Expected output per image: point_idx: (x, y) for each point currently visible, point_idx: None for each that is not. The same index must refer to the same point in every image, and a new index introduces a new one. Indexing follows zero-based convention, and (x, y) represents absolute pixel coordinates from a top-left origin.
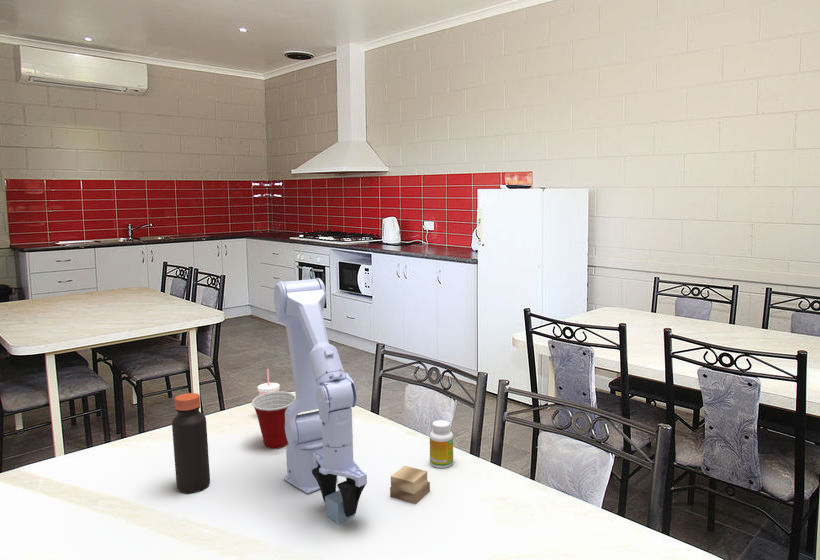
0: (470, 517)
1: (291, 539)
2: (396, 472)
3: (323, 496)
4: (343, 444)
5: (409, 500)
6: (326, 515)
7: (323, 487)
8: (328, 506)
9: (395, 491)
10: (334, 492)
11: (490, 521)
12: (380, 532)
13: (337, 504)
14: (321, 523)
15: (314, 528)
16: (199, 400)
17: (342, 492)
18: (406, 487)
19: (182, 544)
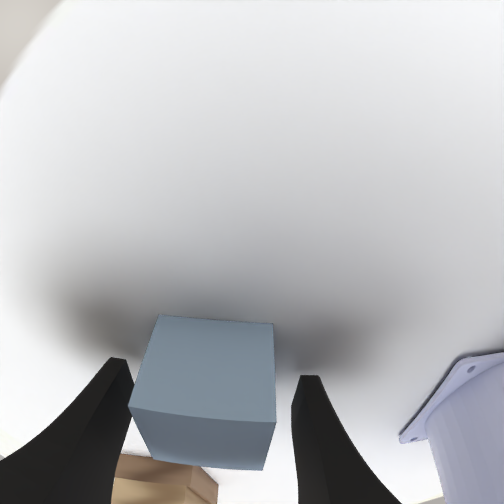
0: (28, 437)
1: (215, 22)
2: None
3: (319, 409)
4: None
5: (133, 460)
6: (265, 324)
7: (321, 466)
8: (240, 372)
9: (172, 477)
10: (264, 453)
11: (10, 433)
12: (24, 345)
13: (131, 402)
14: (222, 264)
15: (207, 204)
16: None
17: (27, 476)
18: (134, 492)
19: None
